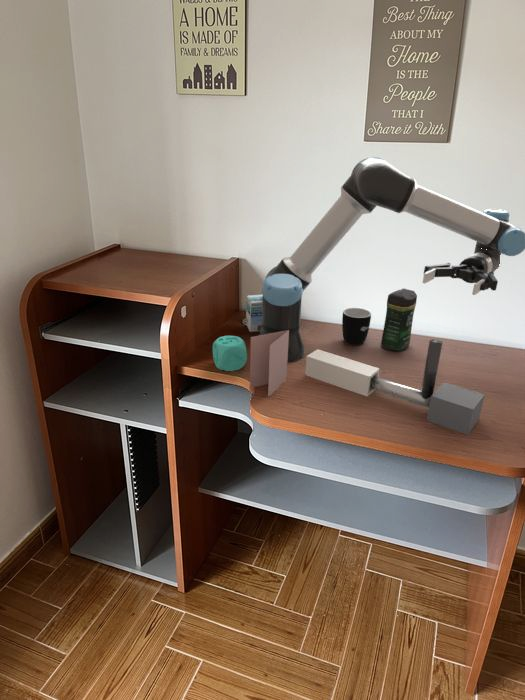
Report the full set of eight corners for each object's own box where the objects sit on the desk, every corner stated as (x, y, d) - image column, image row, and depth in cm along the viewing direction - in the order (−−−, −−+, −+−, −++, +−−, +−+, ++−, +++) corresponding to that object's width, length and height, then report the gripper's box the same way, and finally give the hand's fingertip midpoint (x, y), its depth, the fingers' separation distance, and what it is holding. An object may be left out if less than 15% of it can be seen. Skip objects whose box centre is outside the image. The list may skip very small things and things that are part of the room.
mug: (359, 349, 170) (362, 319, 166) (335, 342, 175) (337, 312, 171) (377, 338, 179) (380, 309, 175) (353, 331, 184) (356, 303, 180)
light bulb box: (249, 332, 181) (250, 303, 176) (245, 323, 186) (245, 295, 181) (280, 329, 183) (282, 300, 178) (274, 321, 189) (276, 293, 184)
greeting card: (284, 378, 151) (287, 328, 145) (298, 389, 145) (301, 339, 139) (248, 386, 146) (249, 335, 140) (261, 398, 140) (262, 346, 134)
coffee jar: (399, 354, 168) (408, 297, 160) (377, 347, 172) (384, 291, 165) (413, 344, 175) (421, 290, 167) (391, 338, 179) (398, 284, 172)
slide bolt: (353, 385, 146) (359, 324, 138) (359, 380, 149) (366, 320, 141) (447, 417, 132) (460, 351, 125) (452, 411, 135) (465, 346, 127)
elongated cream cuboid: (305, 375, 153) (306, 356, 151) (316, 367, 158) (317, 349, 155) (367, 396, 143) (369, 376, 140) (377, 388, 147) (379, 368, 145)
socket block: (426, 420, 133) (431, 395, 130) (439, 406, 139) (444, 382, 136) (467, 434, 127) (473, 409, 124) (479, 419, 134) (484, 394, 131)
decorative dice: (246, 369, 156) (247, 344, 152) (220, 373, 153) (220, 347, 150) (238, 358, 162) (238, 333, 159) (212, 361, 160) (212, 337, 156)
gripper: (516, 289, 153) (493, 308, 138) (432, 271, 167) (403, 287, 151) (522, 264, 150) (500, 280, 135) (436, 247, 164) (407, 261, 148)
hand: (448, 284), depth 143 cm, fingers open, 13 cm apart
